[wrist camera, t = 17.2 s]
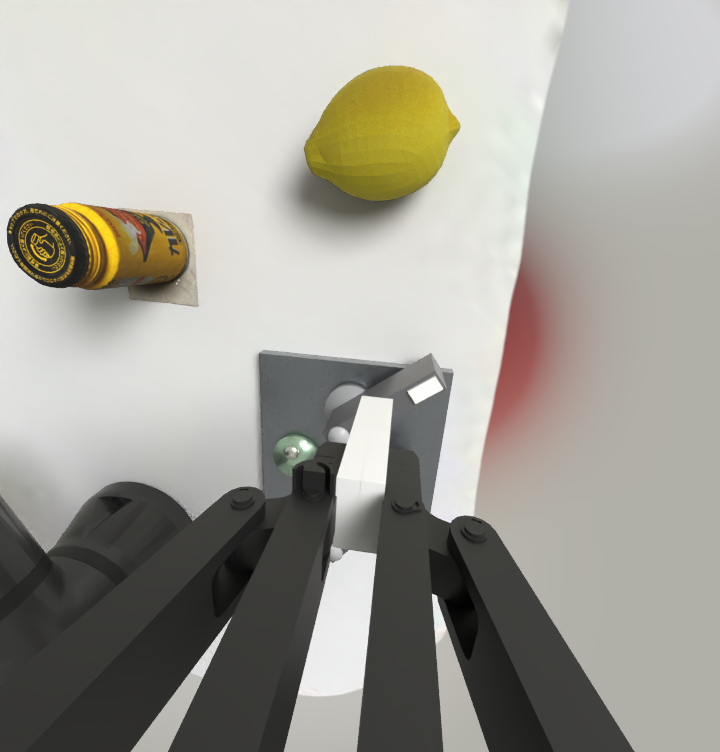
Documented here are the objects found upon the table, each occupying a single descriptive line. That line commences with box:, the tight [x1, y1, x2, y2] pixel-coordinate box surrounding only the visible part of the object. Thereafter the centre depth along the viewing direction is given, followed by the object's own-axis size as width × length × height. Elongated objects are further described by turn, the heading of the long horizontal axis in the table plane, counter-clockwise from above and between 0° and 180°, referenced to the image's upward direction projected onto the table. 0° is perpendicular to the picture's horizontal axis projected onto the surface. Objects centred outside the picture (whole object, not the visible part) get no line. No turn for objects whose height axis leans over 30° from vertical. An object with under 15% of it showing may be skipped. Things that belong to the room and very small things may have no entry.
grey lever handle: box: [322, 354, 447, 444], centre depth 31 cm, size 12×5×6 cm, turn 124°
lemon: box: [304, 66, 460, 201], centre depth 25 cm, size 11×8×8 cm
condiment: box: [7, 203, 198, 306], centre depth 29 cm, size 7×8×12 cm
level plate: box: [259, 350, 453, 513], centre depth 38 cm, size 22×19×2 cm
